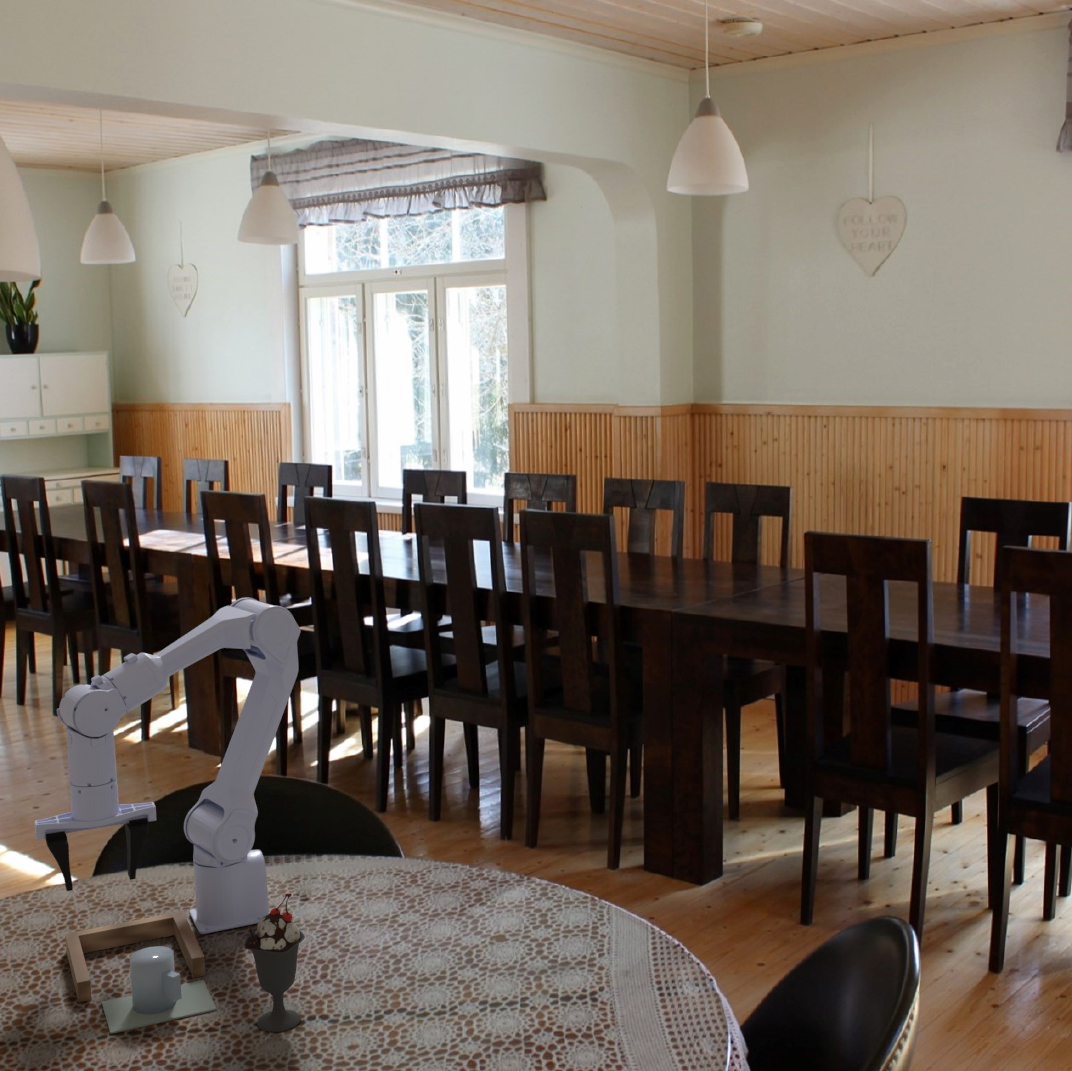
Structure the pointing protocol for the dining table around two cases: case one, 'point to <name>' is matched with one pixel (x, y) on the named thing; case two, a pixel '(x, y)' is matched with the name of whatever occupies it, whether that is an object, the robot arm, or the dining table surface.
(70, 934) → the wooden frame
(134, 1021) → the mat
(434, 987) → the dining table surface
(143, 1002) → the grey rounded cylinder
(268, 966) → the sundae
